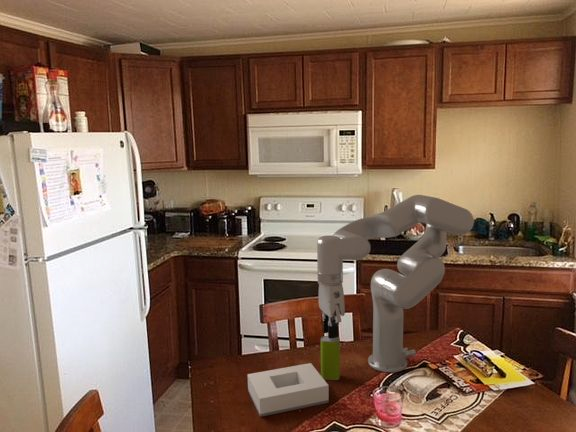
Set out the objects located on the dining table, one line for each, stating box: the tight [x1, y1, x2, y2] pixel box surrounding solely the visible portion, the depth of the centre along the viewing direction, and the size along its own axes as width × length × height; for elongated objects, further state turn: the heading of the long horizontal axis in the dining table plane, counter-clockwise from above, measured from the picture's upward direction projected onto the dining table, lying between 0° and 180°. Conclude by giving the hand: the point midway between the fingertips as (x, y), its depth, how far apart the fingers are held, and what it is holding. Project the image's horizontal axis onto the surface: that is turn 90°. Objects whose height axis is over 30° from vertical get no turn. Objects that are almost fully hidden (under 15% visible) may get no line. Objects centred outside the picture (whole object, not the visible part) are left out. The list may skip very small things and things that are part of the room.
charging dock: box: [247, 362, 330, 417], centre depth 139 cm, size 20×14×5 cm
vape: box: [320, 318, 341, 381], centre depth 148 cm, size 4×6×20 cm, turn 81°
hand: (330, 334), depth 147 cm, fingers closed on vape, 3 cm apart
